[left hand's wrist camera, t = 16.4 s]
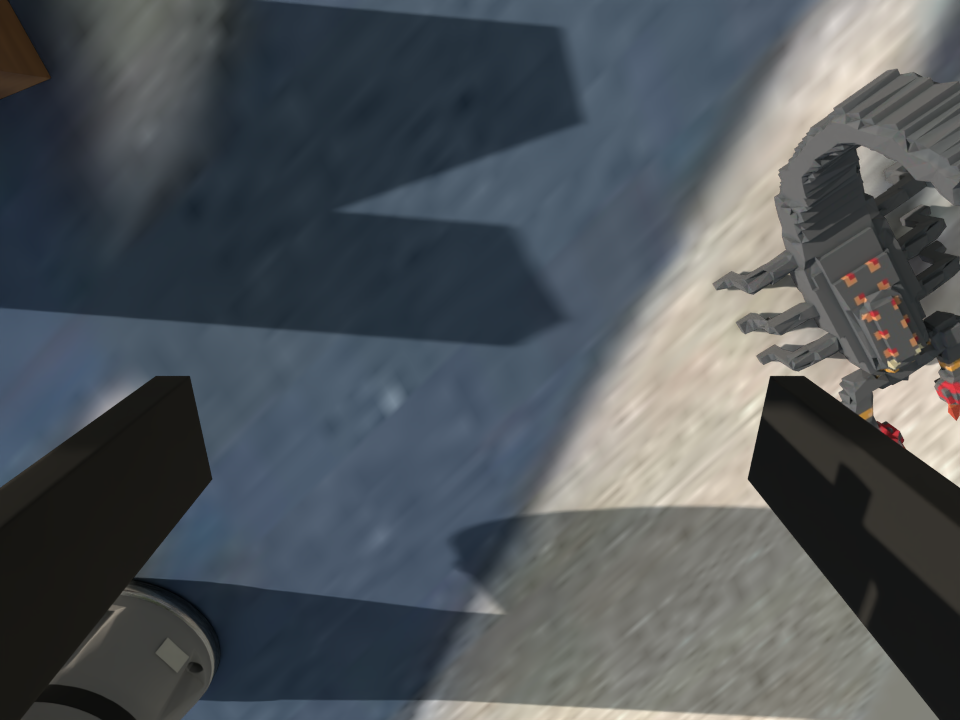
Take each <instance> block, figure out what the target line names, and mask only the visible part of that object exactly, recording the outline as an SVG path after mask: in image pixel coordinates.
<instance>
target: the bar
mask: <svg viewBox="0 0 960 720" xmlns="http://www.w3.org/2000/svg"><path fill="white" fill-rule="evenodd" d="M50 78H51V77H50V75H49V73H48V71H47V70H46V68H45V66H44V64H43V62H42V61H41V59H40V57H39V55H38V54H37V52H36V50H35V48H34V46H33V45H32V43H31V41H30V39H29V37H28V36H27V34H26V32H25V30H24V28H23V27H22V25H21V23H20V21H19V20H18V18H17V16H16V14H15V12H14V11H13V9H12V7H11V5H10V3H9V2H8V0H0V99H2V98H4V97H7V96H9V95H12V94H14V93H17V92H19V91H21V90H24V89H26V88H29V87H31V86H34V85H36V84H38V83H41V82H43V81H46V80H48V79H50Z"/></svg>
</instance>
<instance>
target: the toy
mask: <svg viewBox="0 0 960 720" xmlns="http://www.w3.org/2000/svg"><path fill="white" fill-rule="evenodd" d="M806 134H807V136H805V137H804V138H803V139H802V140H803V141H802V142H800V143H799V144H798V145H799V146H798V147H796V148H795V151H796V152H795V153H794V154H793V157H792V158H790V159H789V163H788V164H787V165H785V166H784V167H782V168H781V169H779V172H780V173H779V174H778V175H779V177H780V179H781V181H782V182H780V184H781V186H780V190H781V191H780V193H779V194H778V195H777V196H775V197H774V199H775V205H776V209H777V213H778V217H779V220H780V223H781V226H782V238H783V241H784V245H785V248H786V250H785V251H784V252H783V253H781V254H780V255H778V256H777V257H775V258H774V259H773V260H771V261H770V262H768V263H767V264H765V265H763V266H761V267H759V268H758V269H756V270H754V271H752V272H751V273H749V274H747V275H739V274H737V273H734V272H732V271H731V272H730V273H728V274H727V275H725V276H724V277H722V278H721V279H719V280H718V281H716V282H714V283H713V285H714V287H715V289H716V290H721V289H726V288H729V287H732V286H734V287H736V288H739V289H741V290H743V291H745V292H747V293H749V294H753V295H754V294H755V293H757V292H758V291H760V290H761V289H763V288H764V287H766V286H767V285H769V284H772V285H773V284H775V283H776V282H777V281H779V280H780V279H782V278H783V277H785V276H786V275H787V274H789V273H790V274H791V276H792V278H793V280H794V282H795V284H796V286H797V288H798V290H799V291H800V292H801V293H802V294H803V297H804V299H805V303H799V304H798V305H796V306H794V307H792V308H790V309H789V310H787V311H785V312H783V313H781V314H780V315H778V316H776V317H774V318H772V319H771V318H770V317H768V318H767V319H766V320H765V319H764V318H763V317H761V316H760V315H759V314H756V313H750V314H748V315H747V316H745V317H743V318H742V319H740V320H739V321H737V322H736V323H737V325H738V327H739V328H740V330H741V331H742V332H743V333H744V334H747V333H749V332H752V331H754V330H756V329H764V330H765V331H767V332H768V333H769V334H776V335H783V334H785V333H786V332H788V331H790V330H791V329H793V328H795V327H797V326H798V325H800V324H802V323H803V322H805V321H807V320H808V319H811V318H814V319H815V321H816V323H817V325H818V327H820V328H822V329H823V330H825V331H827V332H829V333H828V334H826V335H825V336H823V337H821V338H820V339H818V340H816V341H814V342H811V343H809V344H807V345H805V346H803V347H801V348H799V349H797V350H796V351H794V352H791V351H787V350H783V349H781V348H780V347H778V346H776V345H773V346H771V347H770V348H768V349H767V350H765V351H763V352H762V353H760V354H758V355H757V358H758V360H759V361H760V362H761V363H762V364H763V365H764V364H766V363H769V362H771V361H773V360H778V361H780V362H782V363H783V364H785V365H786V366H788V367H789V368H791V369H792V370H794V371H800V370H802V369H805V368H807V367H809V366H811V365H813V364H815V363H817V362H819V361H821V360H823V359H825V358H827V357H829V356H831V355H833V354H834V353H836V352H838V351H839V352H840V353H842V354H844V355H845V356H846V358H847V359H848V360H849V361H850V362H851V363H853V364H854V365H856V366H858V367H859V368H860V369H859V370H857V371H855V372H853V373H851V374H849V375H847V376H845V377H844V378H842V382H841V383H840V386H841V387H842V388H843V390H842V391H841V392H839V395H840V397H841V399H842V402H841V403H842V404H844V405H845V406H846V407H848V408H849V409H851V410H852V411H853V412H855V413H856V414H858V415H859V416H860V417H862V418H863V419H865V420H866V421H867V422H869V423H870V424H872V425H873V426H874V427H876V428H877V429H879V430H880V431H881V432H883V433H884V434H886V435H887V436H888V437H890V438H891V439H892V440H894V441H895V442H897V443H898V444H899V445H901V446H902V447H904V445H903V444H902V443H903V442H904V439H903V437H902V435H901V433H900V431H899V430H897V429H896V428H895V427H893V426H892V425H890V424H889V423H888V422H886V421H885V422H884V423H882V424H881V423H880V422H878V421H876V420H875V418H874V416H873V393H872V391H874V390H875V389H877V388H881V389H884V388H886V387H888V386H890V385H894V384H896V383H898V382H900V381H902V380H908V378H909V375H910V374H912V373H913V372H915V371H916V370H918V369H919V368H921V367H922V366H924V365H925V364H927V363H928V362H930V361H931V360H933V359H934V358H935V357H937V359H938V362H939V364H940V366H941V369H940V370H939V372H938V373H939V375H940V378H939V379H937V380H935V381H934V382H935V383H936V385H935V386H934V387H935V389H936V391H937V393H938V395H939V397H940V399H941V400H943V401H945V402H947V403H948V405H949V406H948V413H949V414H950V415H951V416H952V417H953V418H954V419H955V420H956V421H957V419H958V417H959V415H960V316H958V315H954V314H952V313H946V312H940V311H936V312H935V313H933V314H932V315H930V316H929V317H927V318H926V319H924V320H922V319H923V318H925V317H926V315H925V313H924V311H923V309H922V307H921V304H920V302H919V300H921V299H922V298H924V297H925V296H927V295H928V294H930V293H931V292H933V291H934V290H936V289H937V288H938V287H940V286H941V285H942V284H944V283H945V282H946V281H948V280H949V279H950V278H952V277H953V276H954V275H955V274H956V273H957V272H958V271H959V270H960V264H959V257H958V256H954V255H950V254H945V253H944V252H945V251H946V248H945V247H944V245H943V244H942V243H940V242H938V241H935V242H934V243H932V244H931V245H929V246H928V247H926V248H925V249H923V248H924V247H925V246H926V245H928V244H930V243H931V242H933V241H934V240H936V239H937V238H938V237H939V236H940V234H941V233H942V232H943V230H944V229H945V228H946V227H947V226H946V224H945V222H944V219H942V218H936V217H930V216H929V215H930V214H931V211H930V207H929V206H925V205H920V206H918V207H917V208H915V209H913V210H912V211H910V212H909V213H907V214H906V215H904V216H902V217H901V218H899V219H900V221H901V223H902V225H903V226H907V227H913V229H912V230H910V231H909V232H908V233H906V234H905V235H903V236H902V237H901V238H899V239H898V240H896V238H895V236H894V234H893V232H892V230H891V228H890V226H889V224H888V222H887V220H886V218H885V217H884V216H885V215H886V214H888V213H889V212H891V211H892V210H894V209H895V208H897V207H898V206H900V205H901V204H902V203H904V202H905V201H907V200H908V199H910V198H911V197H912V196H914V195H915V194H917V193H918V192H919V191H921V190H922V189H923V188H925V187H926V186H927V185H926V183H925V181H927V182H931V183H932V184H933V185H934V187H935V188H936V189H937V191H938V192H939V193H940V194H941V195H942V196H943V197H944V198H946V199H947V200H948V201H949V202H951V203H952V204H953V205H958V206H960V83H959V81H957V82H949V83H937V82H933V81H932V79H931V78H928V77H922V76H920V75H918V74H916V73H914V72H912V73H906V74H901V75H900V73H899V71H898V69H893V70H887V71H886V72H884V73H883V74H882V75H880V76H879V77H877V78H876V79H874V80H873V81H872V82H870V83H869V84H867V85H866V86H864V87H863V88H862V89H860V90H859V91H857V92H856V93H854V94H853V95H852V96H850V97H849V98H847V99H846V100H845V101H843V102H842V103H840V104H839V105H837V106H836V107H835V108H834V111H833V112H832V113H830V114H829V115H828V116H827V117H825V118H824V119H823V120H821V121H820V122H818V123H817V124H815V125H814V126H813V127H811V128H810V131H809V132H808V133H806ZM861 145H862V146H864V147H867V148H870V150H873V151H877V152H879V153H881V154H883V155H884V156H886V157H887V158H889V159H892V160H895V161H898V162H896V163H895V164H893V165H892V166H890V167H889V168H887V169H886V170H884V173H885V175H886V177H887V179H886V181H888V182H889V183H891V184H893V186H891V187H890V188H889V189H888V190H887V191H886V192H884V193H883V194H881V195H880V196H878V197H877V198H875V199H874V197H873V196H871V195H868V194H866V193H864V187H863V181H862V178H861V174H860V165H859V161H858V160H860V159H859V157H858V155H857V151H856V148H858V147H860V146H861ZM922 249H923V250H922ZM921 250H922V251H921ZM918 254H919V256H920V257H921V259H922V260H923V261H925V262H928V263H931V264H933V265H932V266H930V267H929V268H927V269H926V270H925V271H923V272H922V273H920V274H919V275H917V276H915V274H914V272H913V270H912V268H911V267H910V265H909V263H908V261H907V260H909V259H911V258H913V257H915V256H917V255H918ZM904 448H905V447H904ZM905 449H906V448H905Z"/></svg>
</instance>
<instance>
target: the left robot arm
mask: <svg viewBox="0 0 960 720" xmlns="http://www.w3.org/2000/svg"><path fill="white" fill-rule="evenodd" d="M211 480H212V476H211V471H210V466H209V462H208V457H207V453H206V448H205V444H204V439H203V434H202V430H201V425H200V421H199V416H198V411H197V407H196V402H195V398H194V393H193V389H192V384H191V379H190V376H155V377H154V378H153V379H151V380H150V381H148V382H147V383H146V384H144V385H143V386H141V387H140V388H139V389H137V390H136V391H134V392H133V393H132V394H130V395H129V396H127V397H126V398H125V399H123V400H122V401H120V402H119V403H118V404H116V405H115V406H114V407H112V408H111V409H109V410H108V411H107V412H105V413H104V414H102V415H101V416H100V417H98V418H97V419H95V420H94V421H93V422H91V423H90V424H88V425H87V426H86V427H84V428H83V429H81V430H80V431H79V432H77V433H76V434H74V435H73V436H72V437H70V438H69V439H68V440H66V441H65V442H63V443H62V444H61V445H59V446H58V447H56V448H55V449H54V450H52V451H51V452H49V453H48V454H47V455H45V456H44V457H42V458H41V459H40V460H38V461H37V462H35V463H34V464H33V465H31V466H30V467H29V468H27V469H26V470H24V471H23V472H22V473H20V474H19V475H17V476H16V477H15V478H13V479H12V480H10V481H9V482H8V483H6V484H5V485H3V486H2V487H1V488H0V720H181V719H182V718H183V717H184V716H185V714H186V713H187V712H188V711H189V710H190V709H191V708H192V707H193V706H194V705H195V704H196V703H197V702H198V700H199V699H200V698H201V697H202V696H203V694H204V693H205V692H206V690H207V688H208V687H209V685H210V683H211V681H212V679H213V677H214V675H215V673H216V671H217V668H218V666H219V661H220V646H219V642H218V639H217V636H216V634H215V632H214V630H213V628H212V626H211V625H210V624H209V622H208V621H207V619H206V618H205V617H204V616H203V615H202V614H201V613H200V612H199V611H198V610H197V609H196V608H195V607H193V606H192V605H191V604H190V603H188V602H187V601H185V600H184V599H182V598H181V597H179V596H177V595H175V594H173V593H171V592H169V591H167V590H165V589H162V588H160V587H157V586H154V585H151V584H147V583H144V582H139V581H133V580H132V579H133V578H134V577H135V575H136V574H137V573H138V572H139V570H140V569H141V568H142V567H143V565H144V564H145V563H146V562H147V560H148V559H149V558H150V557H151V555H152V554H153V553H154V552H155V550H156V549H157V548H158V547H159V545H160V544H161V543H162V542H163V540H164V539H165V538H166V537H167V535H168V534H169V533H170V532H171V530H172V529H173V528H174V527H175V525H176V524H177V523H178V522H179V520H180V519H181V518H182V517H183V515H184V514H185V513H186V512H187V510H188V509H189V508H190V507H191V505H192V504H193V503H194V502H195V500H196V499H197V498H198V497H199V495H200V494H201V493H202V491H203V490H204V489H205V488H206V486H207V485H208V484H209V483H210V481H211ZM748 480H749V481H750V483H751V484H752V485H753V486H754V488H755V489H756V490H757V491H758V493H759V494H760V495H761V497H762V498H763V499H764V500H765V502H766V503H767V504H768V505H769V507H770V508H771V509H772V510H773V512H774V513H775V514H776V515H777V517H778V518H779V519H780V520H781V522H782V523H783V524H784V525H785V527H786V528H787V529H788V530H789V532H790V533H791V534H792V535H793V537H794V538H795V539H796V540H797V542H798V543H799V544H800V545H801V547H802V548H803V549H804V550H805V552H806V553H807V554H808V555H809V557H810V558H811V559H812V560H813V562H814V563H815V564H816V565H817V567H818V568H819V569H820V570H821V572H822V573H823V574H824V576H825V577H826V578H827V579H828V581H829V582H830V583H831V584H832V586H833V587H834V588H835V589H836V591H837V592H838V593H839V594H840V596H841V597H842V598H843V599H844V601H845V602H846V603H847V604H848V606H849V607H850V608H851V609H852V611H853V612H854V613H855V614H856V616H857V617H858V618H859V619H860V621H861V622H862V623H863V624H864V626H865V627H866V628H867V629H868V631H869V632H870V633H871V634H872V636H873V637H874V638H875V639H876V641H877V642H878V643H879V644H880V646H881V647H882V648H883V649H884V651H885V652H886V653H887V654H888V656H889V657H890V658H891V660H892V661H893V662H894V663H895V665H896V666H897V667H898V668H899V670H900V671H901V672H902V673H903V675H904V676H905V677H906V678H907V680H908V681H909V682H910V683H911V685H912V686H913V687H914V688H915V690H916V691H917V692H918V693H919V695H920V696H921V697H922V698H923V700H924V701H925V702H926V703H927V705H928V706H929V707H930V708H931V710H932V711H933V712H934V713H935V715H936V716H937V717H938V718H939V720H960V488H959V487H958V486H957V485H955V484H954V483H952V482H951V481H950V480H948V479H947V478H945V477H944V476H943V475H941V474H940V473H938V472H937V471H936V470H934V469H933V468H931V467H930V466H929V465H927V464H926V463H925V462H923V461H922V460H920V459H919V458H918V457H916V456H915V455H913V454H912V453H911V452H909V451H908V450H906V449H905V448H904V447H902V446H901V445H899V444H898V443H897V442H895V441H894V440H892V439H891V438H890V437H888V436H887V435H886V434H884V433H883V432H881V431H880V430H879V429H877V428H876V427H874V426H873V425H872V424H870V423H869V422H867V421H866V420H865V419H863V418H862V417H860V416H859V415H858V414H856V413H855V412H853V411H852V410H851V409H849V408H848V407H846V406H845V405H844V404H842V403H841V402H840V401H838V400H837V399H835V398H834V397H833V396H831V395H830V394H828V393H827V392H826V391H824V390H823V389H821V388H820V387H819V386H817V385H816V384H814V383H813V382H812V381H810V380H809V379H807V378H806V377H805V376H770V379H769V384H768V389H767V393H766V398H765V402H764V407H763V411H762V416H761V421H760V425H759V430H758V434H757V439H756V444H755V448H754V453H753V457H752V462H751V466H750V471H749V476H748Z"/></svg>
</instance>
